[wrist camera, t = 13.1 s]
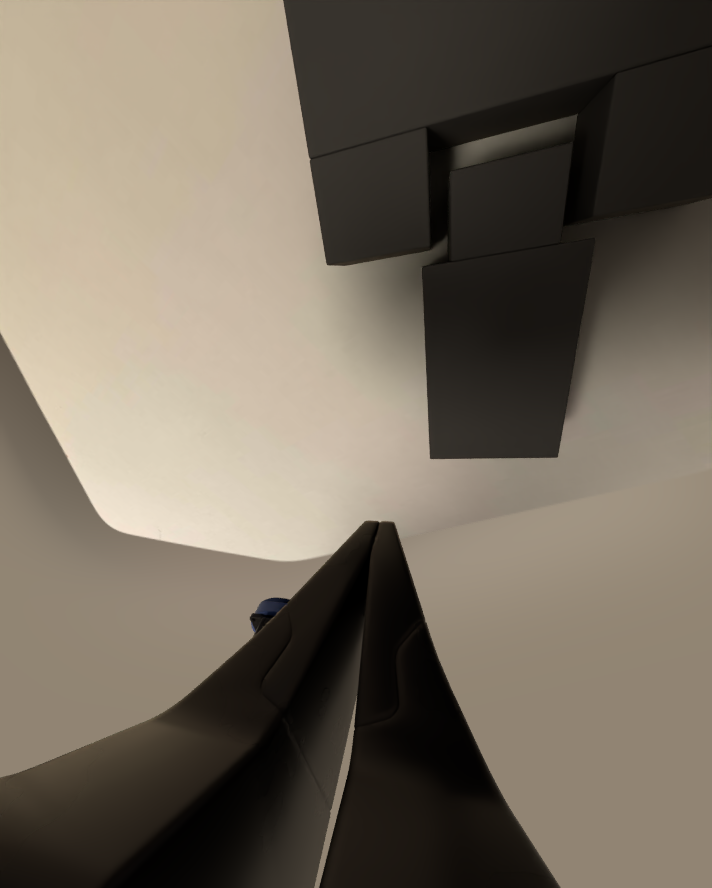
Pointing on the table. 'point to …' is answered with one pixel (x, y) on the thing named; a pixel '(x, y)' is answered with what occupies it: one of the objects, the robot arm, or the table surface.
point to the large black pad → (497, 103)
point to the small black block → (504, 310)
